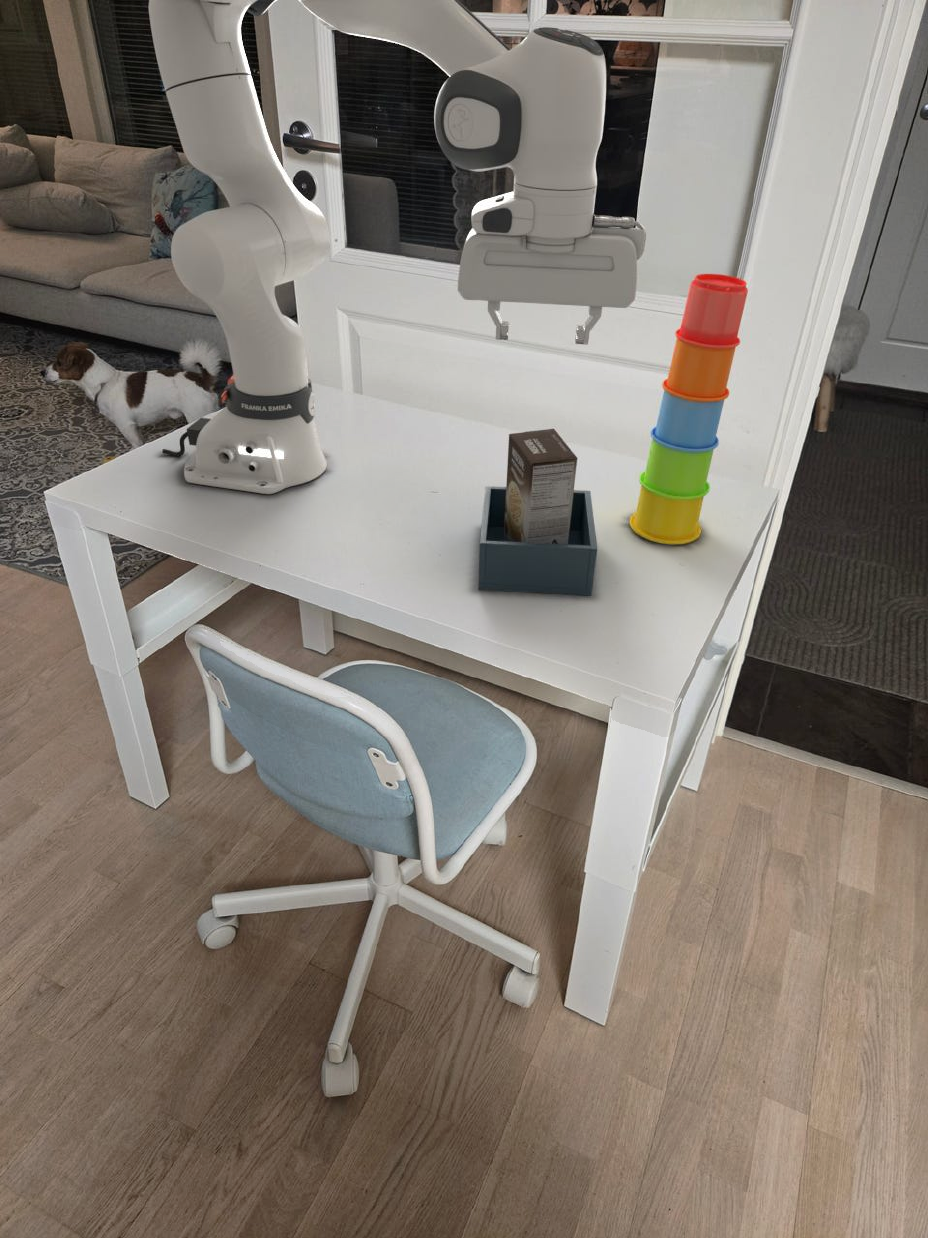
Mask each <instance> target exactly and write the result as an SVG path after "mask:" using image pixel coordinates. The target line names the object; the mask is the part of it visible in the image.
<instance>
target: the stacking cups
mask: <svg viewBox="0 0 928 1238" xmlns="http://www.w3.org/2000/svg"><path fill="white" fill-rule="evenodd" d="M748 293H749V289H748V287H747V281H746V280H744V279H742V278H739V277H736V276H732V275H726V274H721V273H698V274H696V275H695V276H694V280H692V281H691V282H690V284H689V289H688V294H687V298H686V302H685V307H684V310H683V316H682V319H681V324H680V327H679V328H678V329H676V330H675V332H674V335H675V338H676V339H675V343H674V349H673V353H672V358H671V363H670V367H669V371H668V376H667V378H666V379H664V380H663V381H662V384H661V387H662V389H663V394H662V399H661V403H660V407H659V413H658V417H657V421H656V426H654V427H653V428H652V429H651V431H650V437H651V443H650V444H651V445H650V450H649V452H648V458H647V463H646V468H645V471H643V472H641V474H640V475H639V478H638V481H639V483H640V491H639V495H638V501H637V505H636V506H637V507H636V512H634V513H633V514H632V515H631V516H630V518H629V526H630V528H631V530H632V531H633V532H634V533H635V534H637V535H638V536H640V537H642V538H644V539H645V540H648V541H650V542H654V543H659V544H663V545H674V546H675V545H684V544H689V543H692V542H694V541H696V540H697V539H698V538H699V537H700V535H701V532H702V527H701V525H700V523H699V519H700V515H701V510H702V507H703V501H704V497H705V496H707V495H708V494H709V493H710V489H711V486H710V483H709V482H708V476H709V471H710V469H711V468H710V467H711V464H712V458H713V454H714V451H715V449H716V448H718V447H719V445H720V441H719V438H718V436H717V434H718V429H719V424H720V421H721V416H722V412H723V408H724V403H725V400H726V399H728V397H729V395H730V389H729V388H728V382H729V377H730V373H731V369H732V365H733V360H734V357H735V351H736V348H737V347H738V346H739V345H740V344H741V339H740V337H738V335H739V331H740V327H741V322H742V319H743V314H744V310H745V305H746V301H747V296H748Z"/></svg>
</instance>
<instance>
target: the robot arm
mask: <svg viewBox="0 0 928 1238" xmlns="http://www.w3.org/2000/svg"><path fill="white" fill-rule="evenodd" d="M277 1H278V0H148V15H149V24H150V30H151V36H152V43H153V48H154V53H155V57H156V61H157V65H158V70H159V74H160V78H161V81H162V84H163V88H164V91H165V96H166V98H167V101H168V102H167V103H168V105H169V108H170V111H171V114H172V115H171V116H172V118H173V121H174V124H175V127H176V130H177V134H178V138H179V141H180V144H181V147H182V150H183V153H184V156H185V157H186V159H187V161H188V162H189V163H190V165H191V166H193V168H195V169H196V170H198V171H199V172H201V173H202V174H204V175H206V176H208V177H209V178H210V179H211V180H212V181H213V182H214V183H215V184H216V185H217V186H218V188H219V189H220V191H221V192H222V194H223V196H224V197H225V200H226V201H227V203H228V205H229V206H227V207H223V208H217V209H213V210H208V211H205V212H203V213H201V214H199V215H197V216H195V217H193V218H192V219H190V220H188V221H186V222H184V223H183V224H181V225H180V226H178V227H177V228H176V229H175V231H174V233H173V236H172V239H171V245H170V255H171V256H170V257H171V262H172V266H173V269H174V272H175V274H176V276H177V278H178V280H179V281H180V283H181V284H182V286H184V288H185V289H186V290H187V291H188V292H189V293H191V295H193V296H194V297H196V298H197V299H199V300H201V301H203V302H204V303H205V304H206V305H207V306H208V308H210V309H211V311H212V312H213V313H214V315H215V316H216V318H217V320H218V321H219V323H220V326H221V327H222V330H223V332H224V336H225V339H226V342H227V343H226V344H227V347H228V354H229V357H230V358H229V359H230V362H231V369H232V376H231V377H230V378H229V379H228V380H227V385H226V386H225V387H224V388H223V393H222V394H221V395H220V397H221V403H222V404H225V405H226V406H225V407H224V408H223V409H222V410H220V411H219V412H218V413H217V414H216V415H214V416H213V417H212V418H206V417H200V418H199V419H198V420H196V421H195V422H193V423H192V424H191V425H190V426H188V427H187V428H186V431H185V432H184V433H183V434H181V436H180V438H179V451H173V450H169V449H166V448H162V450H161V452H162V454H165V455H168V456H171V457H177V458H178V457H181V456H183V455H184V454H185V452H186V448H185V440H186V439H187V440H188V444H189V446H195V452H193V454H191V456H190V457H188V459H187V461H186V463H185V464H184V468H183V477H184V479H185V482H187V483H188V484H189V483H190V484H194V485H195V484H196V485H202V486H210V487H217V488H222V489H229V490H234V491H235V490H236V491H242V492H243V491H244V492H250V493H256V494H257V493H258V494H263V495H264V494H265V495H272V494H276V493H278V492H281V491H283V490H284V489H287V488H291V487H294V486H299V485H302V484H306V483H308V482H311V481H313V480H315V479H317V478H318V477H320V476H321V475H322V474H323V473H324V472H325V471H326V470H327V468H328V467H327V466H328V463H327V460H326V457H325V455H324V453H323V450H322V447H321V444H320V440H319V437H318V432H317V428H316V423H315V419H314V418H315V412H316V407H315V397H314V396H315V395H314V391H313V385H312V380H311V379H310V378H309V373H308V362H307V353H306V352H307V351H306V342H305V334H304V332H303V330H302V327H301V326H300V325H299V324H298V323H297V322H295V320H293V319H292V318H290V317H288V316H287V315H285V314H283V313H282V312H281V309H280V307H279V305H278V302H277V298H276V293H275V292H276V291H275V290H276V287H277V286H281V285H284V284H287V283H289V282H293V281H296V280H299V279H301V278H304V277H305V276H307V275H308V274H310V273H311V272H313V271H314V270H315V269H316V268H318V267H319V266H320V265H322V264H323V263H324V262H325V260H326V259H327V257H328V255H329V253H330V252H329V251H330V247H331V236H330V235H331V234H330V233H331V232H330V229H329V225H328V223H327V220H326V218H325V216H324V214H323V213H322V211H321V210H320V209H319V207H317V206H316V205H315V204H314V203H313V202H311V201H310V200H308V199H307V198H306V197H305V196H304V195H303V194H302V193H301V192H300V191H299V190H298V188H297V187H296V186H295V185H294V183H293V182H292V181H291V178H289V176H288V174H287V172H286V171H285V169H284V168H283V166H282V164H281V162H280V160H279V157H277V154H276V152H275V149H274V147H273V144H272V143H271V140H270V137H269V134H268V131H267V128H266V127H267V126H266V124H265V120H264V116H263V114H262V110H261V106H260V102H259V99H258V95H257V91H256V88H255V84H254V81H253V77H252V73H251V70H250V66H249V63H248V59H247V56H246V53H245V48H244V45H243V40H242V29H241V28H242V21H243V18H244V16H245V13H246V12H247V13H249V14H251V15H253V16H255V17H260V16H262V15H263V14H264V13H266V12H267V10H268V9H269V8H270V7H271V6H272V5H273V4H274V3H275V2H277ZM298 1H299V2H300V4H301V5H303V6H304V8H306V9H307V10H308V11H309V12H310V13H311V14H313V15H314V16H316V17H317V18H318V19H320V20H321V21H322V22H324V23H325V24H327V25H329V26H330V27H332V28H333V29H335V30H336V31H339V32H341V33H343V34H347V35H353V36H358V37H363V38H364V37H365V38H368V39H369V38H370V39H376V40H381V41H386V42H390V43H395V44H397V45H398V44H399V45H401V46H403V47H404V46H405V47H407V48H409V49H411V50H414V51H417V52H418V53H421V54H422V55H424V57H426V58H428V59H429V60H431V61H432V62H433V63H434V64H435V65H436V66H438V68H440V69H441V70H442V71H443V72H444V73H445V74H446V75H447V76H449V77H448V78H447V79H445V81H444V83H442V86H441V88H440V90H439V92H438V94H437V98H436V101H435V106H434V112H433V113H434V115H433V119H434V121H433V123H434V130H435V131H434V132H435V135H436V139H437V143H438V144H439V147H440V149H441V151H442V153H443V155H444V156H445V157H446V158H447V160H448V161H450V162H451V163H452V164H453V165H454V166H455V167H457V168H459V169H462V170H467V171H471V172H485V171H486V172H487V171H491V170H500V169H505V168H509V169H511V171H512V172H513V191H511V192H506V193H503V194H500V195H497V196H493V197H490V198H486V199H483V200H480V201H479V202H477V203H475V205H474V206H473V209H472V211H471V215H470V217H471V219H470V220H471V229H470V230H469V233H468V234H467V237H466V238H465V241H464V244H463V248H462V253H461V258H460V263H459V267H458V268H459V270H458V278H457V279H458V280H457V292H458V294H459V295H460V296H461V298H462V299H463V300H465V301H481V302H483V301H484V302H487V312H488V314H489V316H490V318H491V320H492V322H493V324H494V326H495V340H496V341H509V329H510V328H509V327H510V321H505V320H502V317H501V315H500V313H499V312H500V310H501V302H502V303H519V304H521V303H522V304H539V305H554V306H555V305H556V306H559V305H560V306H574V307H575V306H576V307H577V306H578V307H588V316H589V317H588V318H587V319H586V321H585V322H584V323H583V325H577V324H576V329H575V338H574V342H575V345H584V346H588V345H589V340H590V332H591V331H592V330H593V328H594V327H595V325H596V324H597V323H598V321H599V320H600V319H601V317H602V313H603V312H602V311H603V308H614V309H627V308H629V307H630V306H631V305H632V304H633V303H634V302H635V300H636V295H637V282H638V260H640V259H641V257H642V256H643V254H644V252H645V246H646V240H647V233H646V229H645V227H644V225H642V223H640V222H638V221H635V218H634V217H631V216H622V217H620V216H618V217H617V216H611V215H601V214H594V213H595V204H596V195H597V187H598V176H597V169H596V164H597V163H596V162H597V157H598V156H597V155H598V151H599V148H600V145H601V143H602V140H603V133H604V125H605V124H604V123H605V115H606V100H607V97H606V96H607V64H606V58H605V54H604V51H603V48H602V47H601V46H600V44H599V43H598V42H597V41H596V40H594V39H593V38H591V37H590V36H587V35H585V34H582V33H580V32H575V31H572V30H568V29H560V28H557V27H548V26H547V27H546V26H544V27H539V28H535V29H532V30H531V31H530V32H528V34H527V35H526V36H525V38H524V39H523V40H521V42H519V43H518V44H517V45H515V46H513V47H512V48H511V47H510V46H508V44H506V43H505V42H504V41H503V39H501V38H500V37H499V36H498V35H497V34H496V33H495V32H493V31H492V30H491V29H490V28H489V27H488V26H487V25H486V24H485V23H484V22H483V21H481V20H480V18H478V17H477V16H476V15H475V14H474V13H473V12H472V11H471V10H470V9H468V7H466V5H464V4H463V3H462V2H460V0H298Z"/></svg>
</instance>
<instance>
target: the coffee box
mask: <svg viewBox="0 0 928 1238" xmlns="http://www.w3.org/2000/svg"><path fill="white" fill-rule="evenodd" d="M577 465H578V456H576V454H575V453H574V452H573V450H571V448H570V447H569V445H567V443H566V442H565V441H564V439H563V438H562V437H561V436H560V434H559V433H558V431H556V429H555V428H549V429H548V428H547V429H539V430H529V431H524V432H523V431H522V432H513V433H509V434H508V448H507V468H506V484H505V485H506V486H505V487H506V504H505V522H504V541H505V542H524V543H545V544H565V545H568V537H569V528H570V519H571V511H572V502H573V493H574V490H575V481H576V475H577Z"/></svg>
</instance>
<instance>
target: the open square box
mask: <svg viewBox="0 0 928 1238" xmlns="http://www.w3.org/2000/svg"><path fill="white" fill-rule="evenodd" d="M505 504H506V486H492V485H490V486H489V485H486V486H485V487H484V499H483V505H482V506H483V509H482V515H481V516H482V517H481V527H480V536H479V537H480V539H479V552H478V553H479V556H478V581H477V582H478V585H477V587H478V588H477V589H478V590H479V591H497V592H499V591H500V592H518V593H536V594H555V595H556V594H557V595H575V596H578V595H579V596H592V593H593V586H594V579H595V578H594V577H595V570H596V562H597V556H598V541H597V536H596V535H597V534H596V526H595V518H594V510H593V502H592V494H591V490H580V489H579V490H577V489H574V493H573V502H572V511H571V519H570V528H569V537H568V545H565V544H545V543H524V542H505V541H504V522H505Z"/></svg>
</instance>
